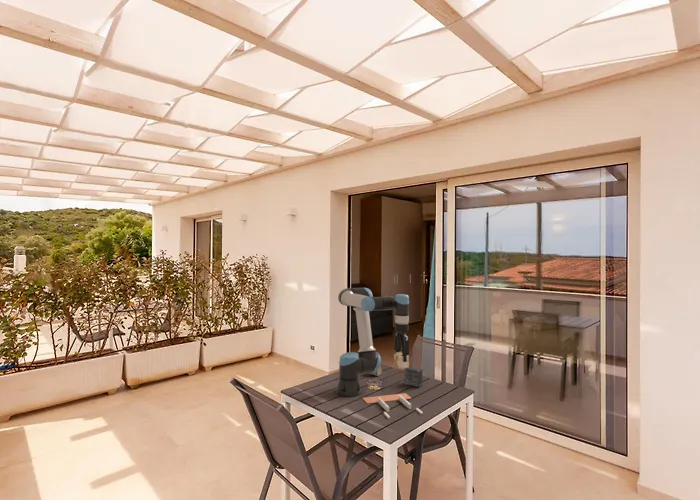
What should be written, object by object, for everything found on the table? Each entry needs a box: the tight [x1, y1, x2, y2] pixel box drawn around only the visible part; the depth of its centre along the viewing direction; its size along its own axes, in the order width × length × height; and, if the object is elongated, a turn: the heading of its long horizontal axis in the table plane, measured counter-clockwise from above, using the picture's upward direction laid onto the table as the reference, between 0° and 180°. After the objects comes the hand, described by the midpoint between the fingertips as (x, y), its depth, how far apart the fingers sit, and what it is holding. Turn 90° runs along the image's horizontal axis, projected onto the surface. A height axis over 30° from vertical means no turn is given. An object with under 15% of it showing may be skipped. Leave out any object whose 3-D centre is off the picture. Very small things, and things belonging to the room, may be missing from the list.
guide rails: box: [378, 395, 412, 413], centre depth 205 cm, size 14×14×2 cm
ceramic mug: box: [367, 366, 383, 377], centre depth 259 cm, size 11×8×8 cm
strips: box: [383, 407, 424, 419], centre depth 194 cm, size 6×20×1 cm, turn 107°
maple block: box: [393, 352, 410, 369], centre depth 197 cm, size 6×6×6 cm
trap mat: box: [362, 392, 412, 405], centre depth 215 cm, size 8×28×1 cm, turn 107°
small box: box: [404, 366, 423, 388], centre depth 239 cm, size 11×6×10 cm, turn 58°
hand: (401, 365), depth 197 cm, fingers closed on maple block, 6 cm apart
